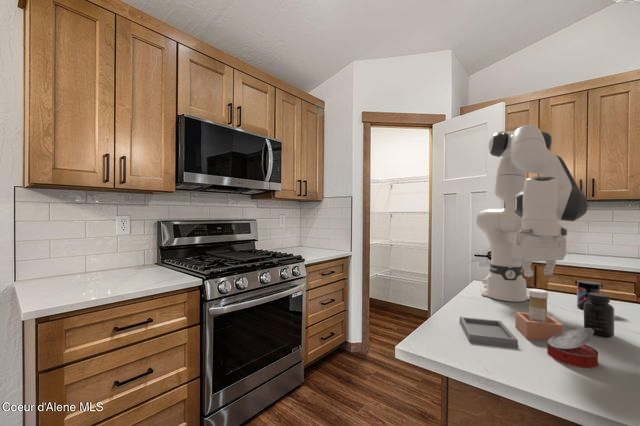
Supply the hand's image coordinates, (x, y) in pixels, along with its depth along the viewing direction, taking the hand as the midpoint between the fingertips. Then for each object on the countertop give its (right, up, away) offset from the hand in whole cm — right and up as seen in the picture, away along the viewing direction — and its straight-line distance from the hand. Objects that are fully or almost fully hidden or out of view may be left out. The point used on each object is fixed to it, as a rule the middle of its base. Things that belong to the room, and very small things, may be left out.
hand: (538, 275), depth 89 cm
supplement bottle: (+20, -18, +2) cm, 27 cm away
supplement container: (+38, -19, +26) cm, 50 cm away
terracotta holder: (0, -18, 0) cm, 18 cm away
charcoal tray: (-16, -18, 0) cm, 24 cm away
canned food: (-2, -18, -14) cm, 23 cm away
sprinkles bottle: (0, -18, 0) cm, 18 cm away
